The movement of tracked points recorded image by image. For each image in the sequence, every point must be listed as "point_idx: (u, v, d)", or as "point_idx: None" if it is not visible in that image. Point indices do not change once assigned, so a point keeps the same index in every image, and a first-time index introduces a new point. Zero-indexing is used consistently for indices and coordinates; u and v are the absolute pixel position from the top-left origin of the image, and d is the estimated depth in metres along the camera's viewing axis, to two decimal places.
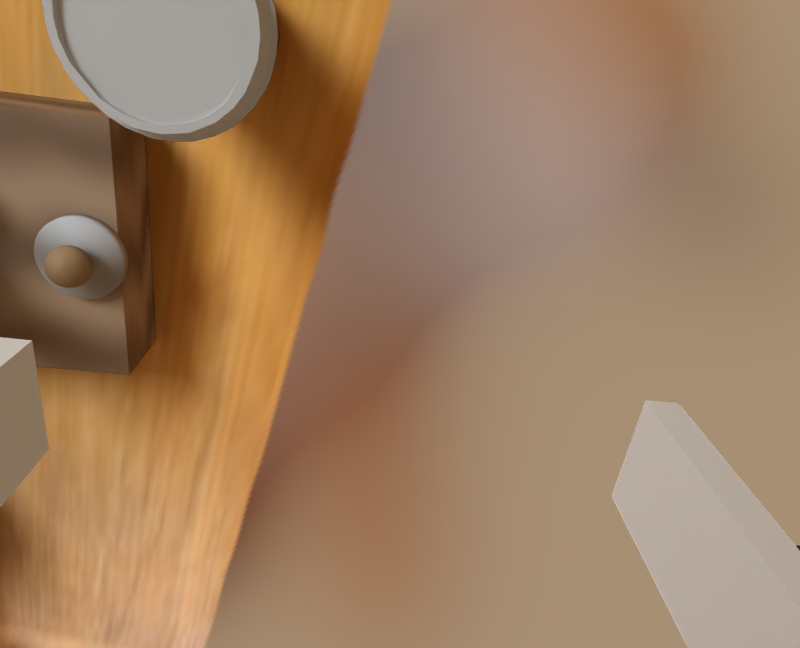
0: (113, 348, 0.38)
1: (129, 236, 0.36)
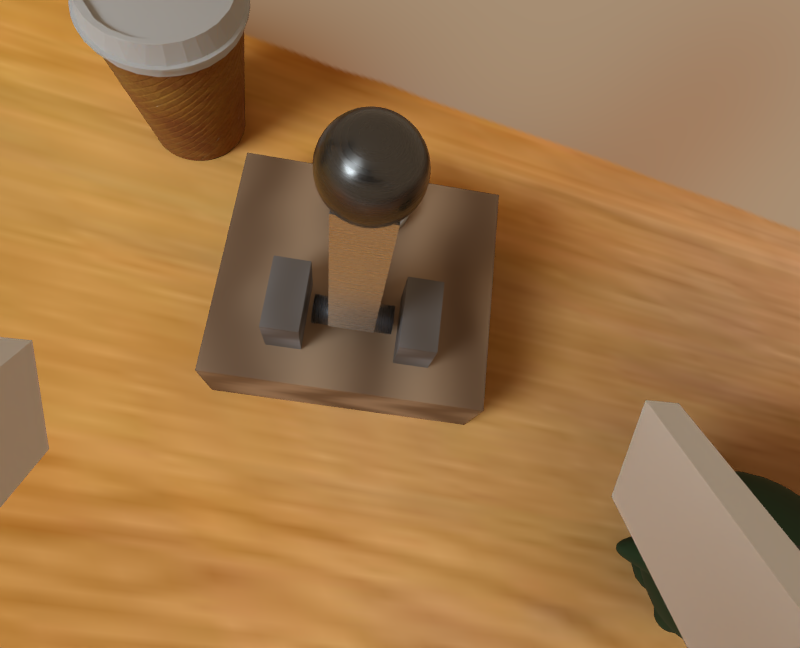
0: (469, 201, 0.37)
1: None
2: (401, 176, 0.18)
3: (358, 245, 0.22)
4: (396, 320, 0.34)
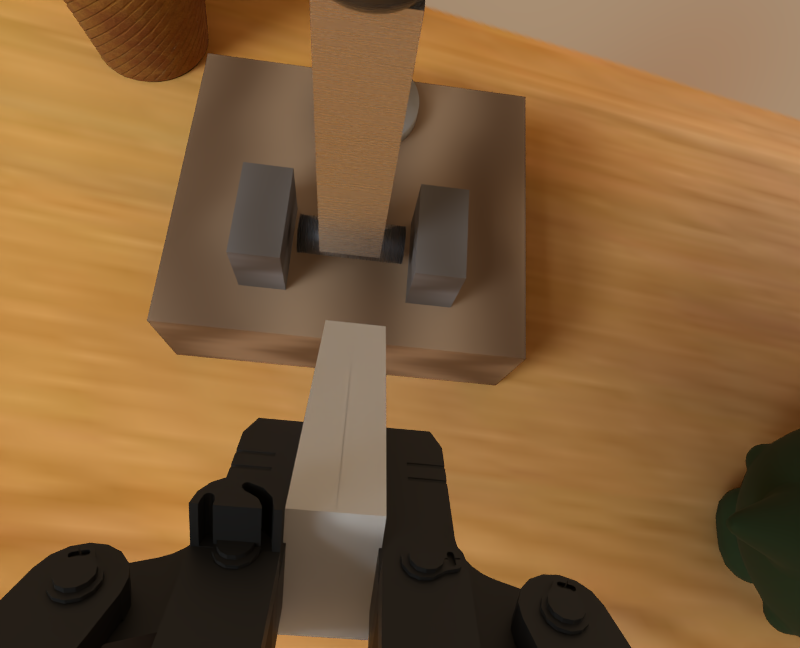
0: (489, 105, 0.30)
1: None
2: None
3: (357, 70, 0.14)
4: (407, 250, 0.27)
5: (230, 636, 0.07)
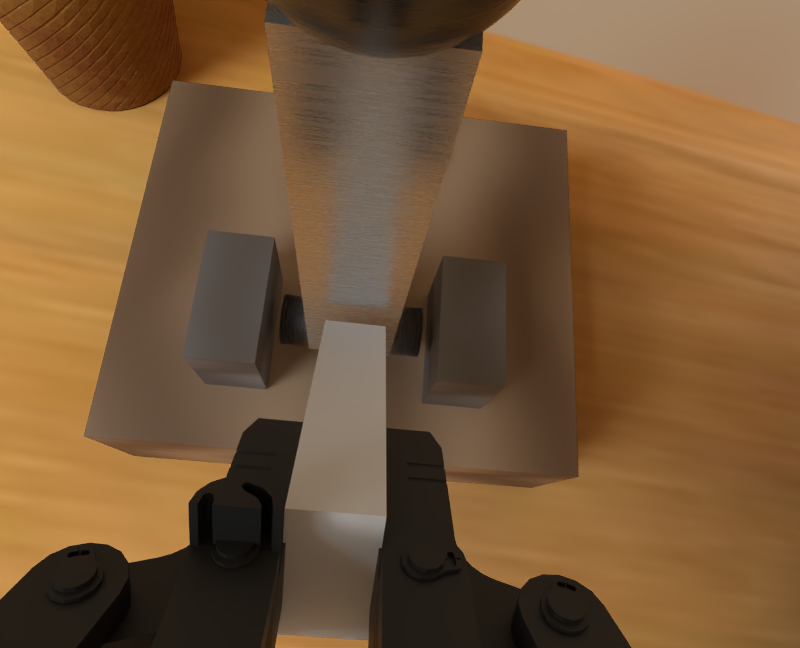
0: (523, 141, 0.24)
1: None
2: None
3: (358, 146, 0.08)
4: (423, 332, 0.21)
5: (230, 636, 0.07)
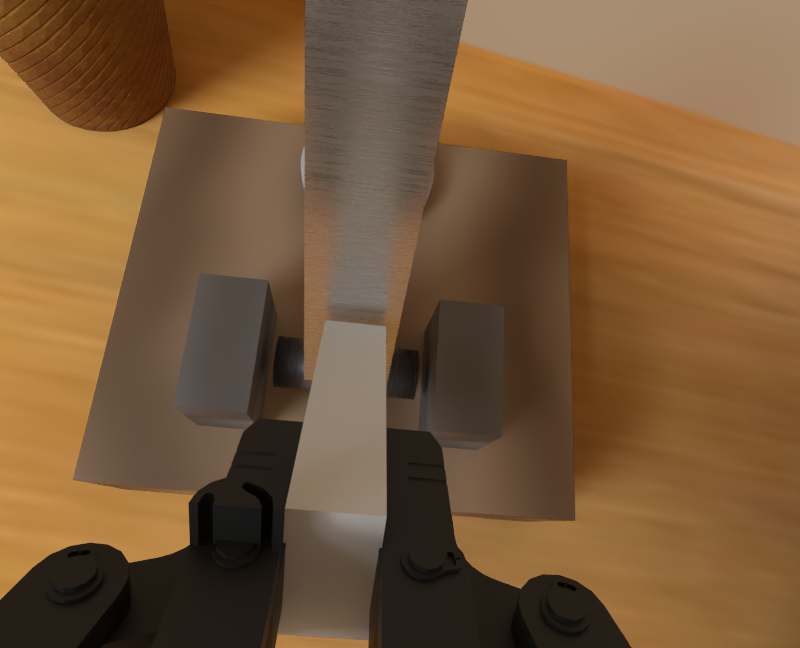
0: (522, 172, 0.24)
1: None
2: None
3: (374, 47, 0.09)
4: (419, 370, 0.21)
5: (230, 636, 0.07)
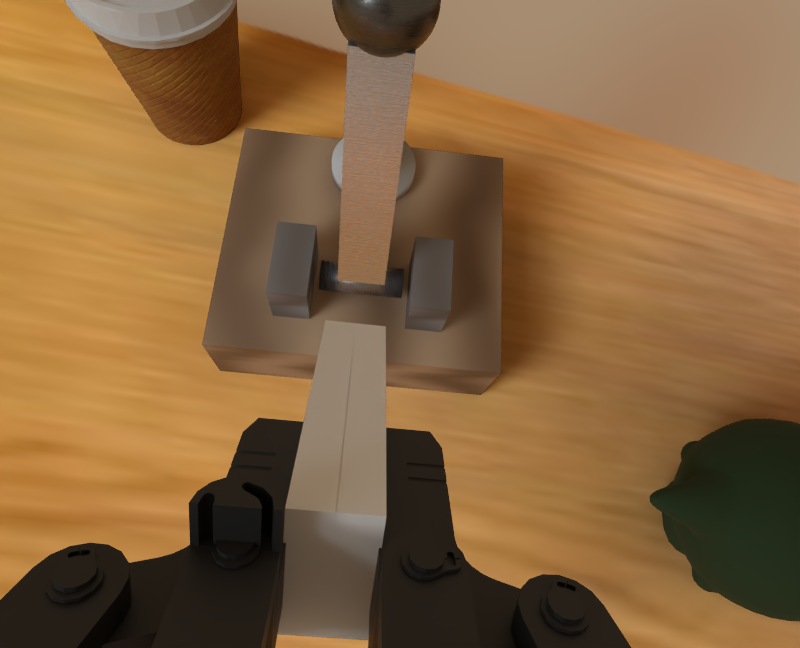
0: (473, 166, 0.37)
1: None
2: None
3: (374, 100, 0.22)
4: (406, 286, 0.33)
5: (230, 636, 0.07)
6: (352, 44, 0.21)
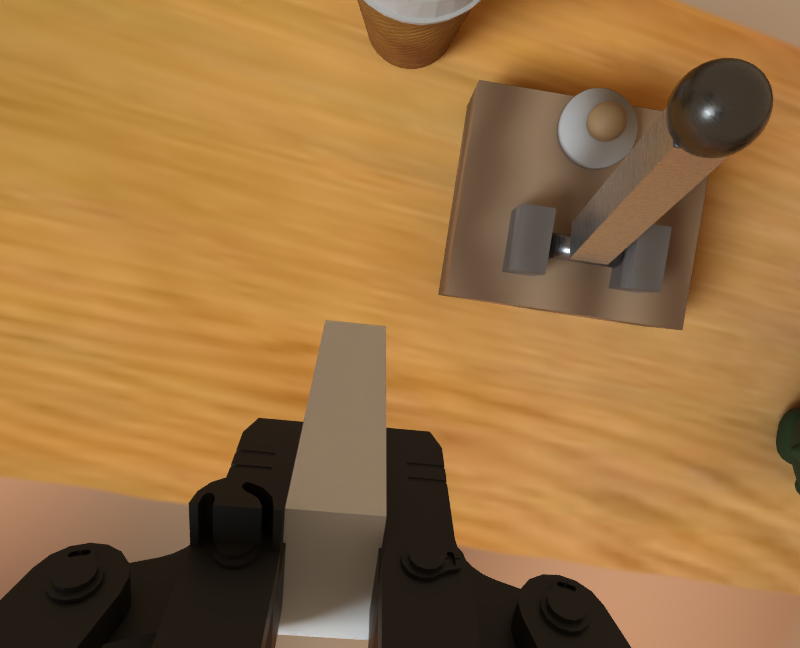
0: None
1: None
2: (762, 112, 0.22)
3: (673, 175, 0.27)
4: None
5: (231, 636, 0.07)
6: (676, 145, 0.25)
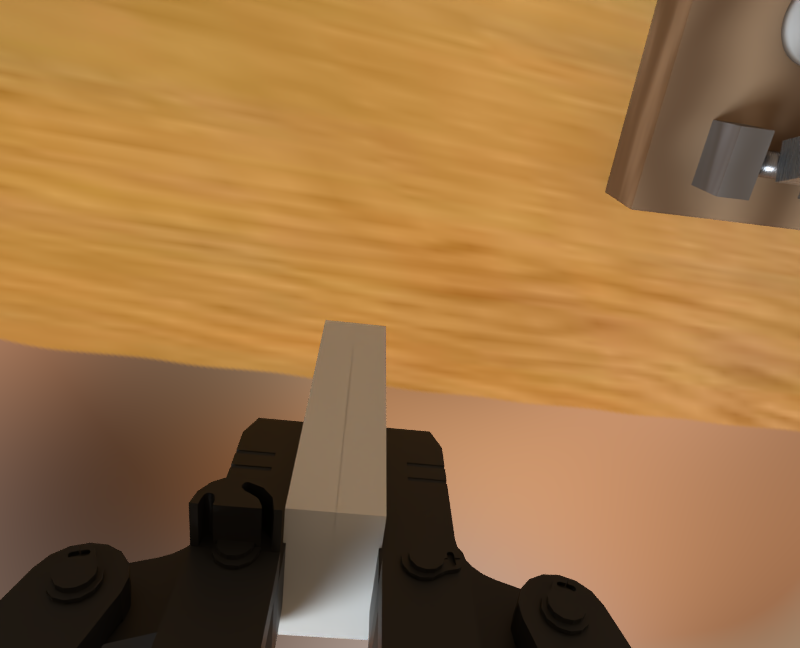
0: None
1: None
2: None
3: None
4: None
5: (231, 636, 0.07)
6: None
